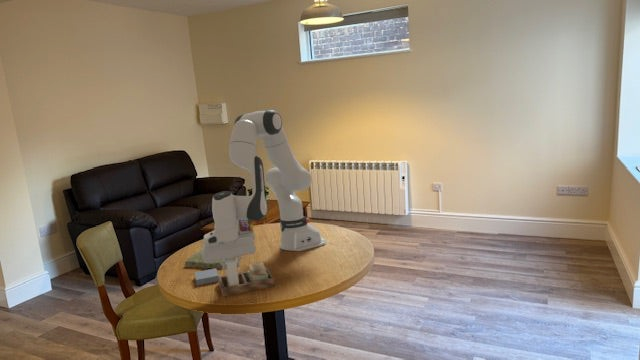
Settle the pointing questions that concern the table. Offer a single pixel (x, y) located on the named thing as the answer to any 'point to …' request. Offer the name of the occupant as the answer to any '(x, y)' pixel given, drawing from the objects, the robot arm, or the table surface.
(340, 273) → the table surface
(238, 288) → the walnut rack
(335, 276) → the table surface
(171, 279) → the table surface
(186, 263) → the decorative tile
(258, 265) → the offcut top
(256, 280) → the block
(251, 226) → the candy box
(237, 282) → the tall white box
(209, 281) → the slate plinth
